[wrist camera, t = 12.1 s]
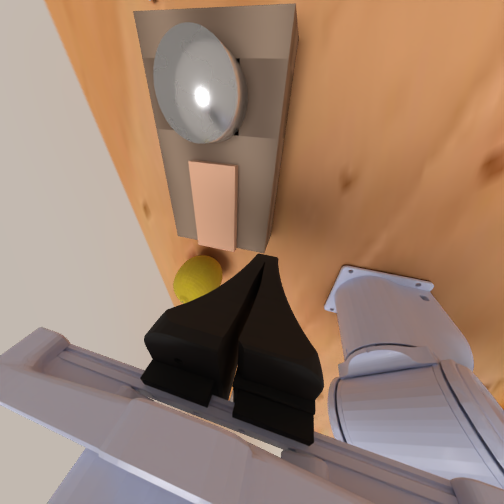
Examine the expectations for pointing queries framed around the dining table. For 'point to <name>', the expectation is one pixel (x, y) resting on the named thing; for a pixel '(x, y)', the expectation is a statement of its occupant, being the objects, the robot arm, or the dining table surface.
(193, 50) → the silver knob
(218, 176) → the bar
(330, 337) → the dining table surface
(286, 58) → the socket block
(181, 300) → the lemon
